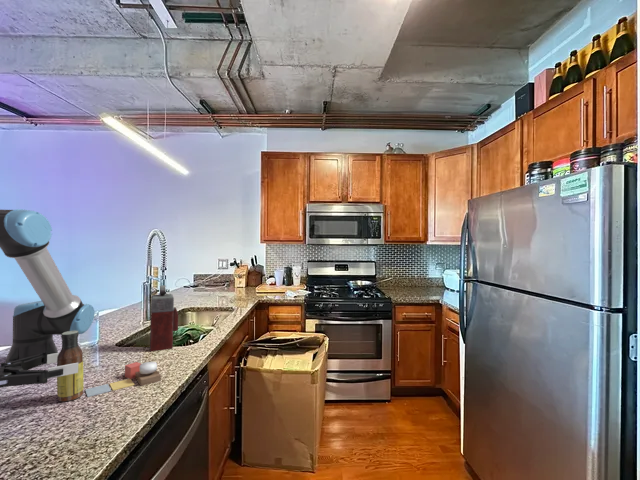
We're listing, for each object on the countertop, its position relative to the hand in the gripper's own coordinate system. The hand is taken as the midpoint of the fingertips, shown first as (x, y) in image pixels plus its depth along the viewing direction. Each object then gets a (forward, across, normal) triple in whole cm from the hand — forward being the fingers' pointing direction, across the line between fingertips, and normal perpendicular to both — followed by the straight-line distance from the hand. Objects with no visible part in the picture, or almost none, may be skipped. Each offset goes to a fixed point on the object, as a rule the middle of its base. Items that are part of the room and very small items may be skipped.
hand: (76, 360), depth 94 cm
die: (+17, -6, -11) cm, 21 cm away
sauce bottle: (-1, 0, -11) cm, 11 cm away
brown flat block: (+20, +1, -11) cm, 23 cm away
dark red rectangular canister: (+34, -32, -11) cm, 48 cm away
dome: (+20, +1, -8) cm, 21 cm away
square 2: (+12, 0, -11) cm, 16 cm away
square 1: (+6, 0, -11) cm, 12 cm away
